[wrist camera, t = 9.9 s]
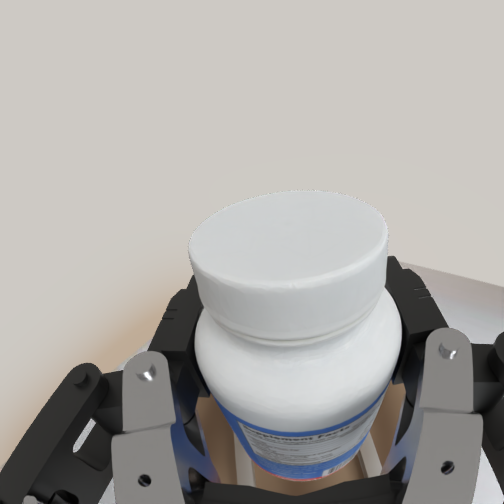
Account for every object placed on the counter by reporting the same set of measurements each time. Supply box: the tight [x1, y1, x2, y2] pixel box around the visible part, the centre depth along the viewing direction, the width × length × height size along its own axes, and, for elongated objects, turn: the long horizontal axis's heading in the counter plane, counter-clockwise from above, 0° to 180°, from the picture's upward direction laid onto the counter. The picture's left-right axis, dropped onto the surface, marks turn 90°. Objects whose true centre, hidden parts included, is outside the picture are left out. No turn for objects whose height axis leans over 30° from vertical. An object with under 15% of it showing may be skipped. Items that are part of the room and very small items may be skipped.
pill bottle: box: [188, 190, 402, 481], centre depth 8 cm, size 6×5×10 cm
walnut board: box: [196, 380, 406, 496], centre depth 15 cm, size 20×16×3 cm
